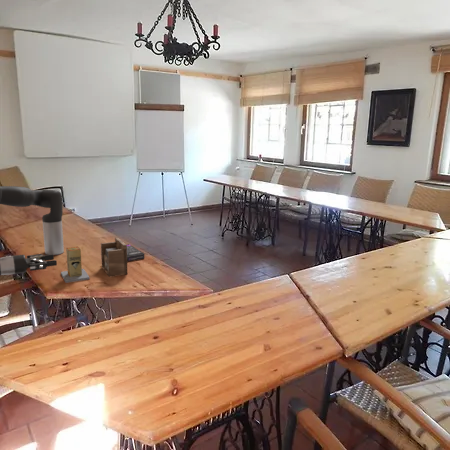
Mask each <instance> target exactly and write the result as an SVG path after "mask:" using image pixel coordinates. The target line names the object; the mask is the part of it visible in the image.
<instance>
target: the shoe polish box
mask: <svg viewBox="0 0 450 450" xmlns="http://www.w3.org/2000/svg"><path fill="white" fill-rule="evenodd" d="M65 249H66V263H67V271H68V274H69V276H70V277H74V276H81V275H82V269H83V268H82V254H81V253H82V252H81V251H82V250H81V248H80V247H79V246H72V247H66V248H65Z"/></svg>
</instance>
